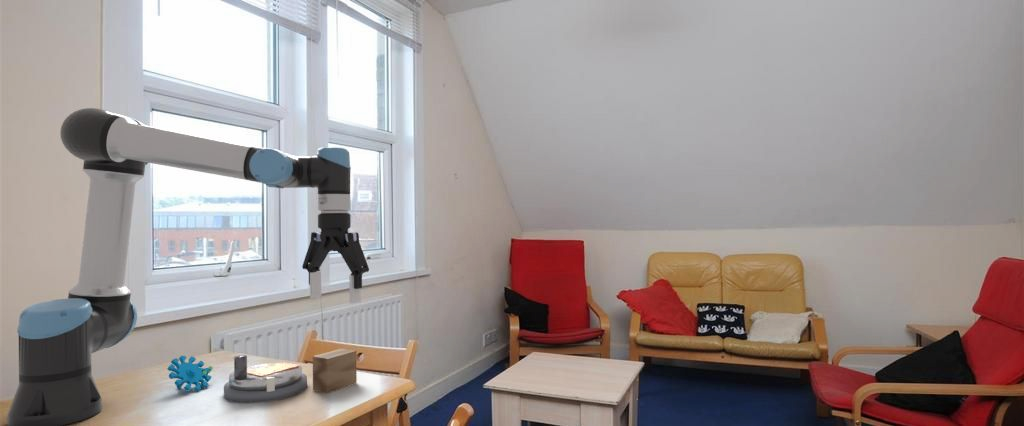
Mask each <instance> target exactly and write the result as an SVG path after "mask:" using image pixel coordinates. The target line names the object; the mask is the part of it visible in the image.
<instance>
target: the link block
mask: <svg viewBox="0 0 1024 426" xmlns="http://www.w3.org/2000/svg"><path fill="white" fill-rule="evenodd" d="M357 378H358V377H357V350H354V349H347V348H344V347H343V348H338V349H335V350H332V351H328V352H324V353H320V354H315V355H312V390H313V391H316V392H319V393H324V394H329V393H332V392H336V391H338V390H340V389H344V388H347V387H349V385H350V386H352V384H353V385H355V384H354V383H356V384H358V383H357V380H358V379H357Z"/></svg>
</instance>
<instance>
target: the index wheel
mask: <svg viewBox="0 0 1024 426" xmlns="http://www.w3.org/2000/svg"><path fill="white" fill-rule="evenodd" d="M233 368H234V369H233V371H232V372H231V373H230V374H229V375H228V382H229V386H230V387H231V388H233V389H237V390H247V391H254V390H267V378H269V377H275V388H279V387H284V386H287V385H290V384H293V383H295V382H297V381H299V380H300V379H301V378H302V373H303V367H302V366H301V365H299V364H297V363H291V362H284V361H282V362H270V363H259V364H255V365H249V366H248V356H247V355H246V354H242V355H241V354H240V355H239V354H238V355H234V357H233Z"/></svg>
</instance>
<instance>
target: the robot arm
mask: <svg viewBox="0 0 1024 426" xmlns="http://www.w3.org/2000/svg"><path fill="white" fill-rule="evenodd" d="M60 140H61V142H62V145H63V146H64V148H65V149H66V150H67V151H68V152H69V153H70V154H71V155H72V156H74V157H76V158H78V159H79V160H83V168H82V171H83V172H84V174H85V175H87V176H88V178H89V189H88V197H87V204H86V205H87V206H86V214H85V220H84V221H85V222H84V231H83V239H82V247H81V248H82V249H81V258H80V264H79V265H80V267H79V275H78V276H79V277H78V283H77V284H76V285H74V286H73V287H71V288H70V289H69V290H68V297H67V298H60V299H54V300H53V299H52V300H50V301H42V302H39V303H36V304H33V305H31V306H27V307H26V308H24V310H22V311H21V313H20V314H19V317H18V325H17V335H18V386H17V389H16V392H15V394H14V396H13V399H12V402H11V404H10V406H9V409H8V412H7V416H6V418H7V419H6V420H7V421H6V425H7V426H65V425H70V424H73V423H78V422H80V421H83V420H87V419H88V418H92V417H94V416H95V415H97V414H98V413H100V412H101V411H102V409H103V402H102V401H103V399H102V396H101V394H100V391H99V389H98V387H97V384H96V382H95V379H94V377H93V374H92V354H94V353H96V352H99V351H102V350H105V349H108V348H111V347H113V346H115V345H116V346H117V345H118V344H119V343H120V342H121V341H124V340H125V339H126V338H127V337H128V336H130V335H131V333H132V332H133V331H134V329H135V327H136V325H137V320H138V312H137V308H136V306H135V305H134V304H133V302H132V301H131V296H132V291H131V290H130V288H128V287H127V286H126V284H125V278H126V271H127V270H126V269H127V263H128V262H127V260H128V254H129V252H128V251H129V244H130V235H131V227H132V226H131V225H132V216H133V207H134V199H135V189H136V184H137V182H139V181H140V180H142V179H143V178H144V177H145V172H146V166H147V165H148V164H155V165H161V166H166V167H171V168H178V169H182V170H189V171H193V172H199V173H204V174H210V175H218V176H223V177H228V178H232V179H233V178H234V179H239V180H245V181H249V182H256V183H260V184H264V185H266V186H267V187H268V188H277V189H286V188H287V189H288V188H289V189H291V188H293V189H294V188H295V189H296V188H299V189H301V188H303V189H304V188H313V189H314V188H317V211H319V212H320V213H318V214H317V228H318V229H320V231H312V232H311V233H310V242H309V244H308V248H307V251H306V252H305V253H306V254H305V256H304V260H303V263H302V266H301V267H302V269H303V270H306V271H307V272H308V284H309V299H310V300H316V299H322V271H321V269H320V268H321V266H323V265H322V264H323V262H325V259H326V258H327V256H328V255H329V253H330V252H332V251H333V252H337V253H338V254H340V255H341V257H342V259H343V260H344V262H345V264H346V266H347V267H348V269H349V271H350V272H351V273H350V274H349V304H357V303H361V297H362V296H361V293H362V292H361V289H362V287H363V274H364V273H368V272H369V271H370V267H369V265H368V262H367V259H366V257H365V253H364V251H363V248H362V246H361V243H360V236H359V232H357V231H356V232H349V229H350V228H351V225H352V224H351V217H352V216H351V214H350V211H351V207H352V206H351V203H352V202H351V168H352V166H351V160H350V159H351V157H350V152H349V151H348V150H347V149H346V148H344V147H331V146H328V147H320V148H318V149H317V154H316V155H313V156H303V155H299V156H298V155H291V154H289V153H286V152H284V151H282V150H281V149H277V148H274V147H273V148H272V147H262V146H254V145H250V144H247V143H246V144H245V143H241V142H234V141H229V140H223V139H218V138H212V137H209V136H202V135H197V134H192V133H186V132H181V131H176V130H175V131H174V130H170V129H165V128H159V127H154V126H149V125H145V124H144V123H142V122H140V121H139V120H137V119H135V118H133V117H129V116H125V115H122V114H118V113H114V112H111V111H107V110H105V109H103V108H101V109H100V108H94V107H89V108H81V109H78V110H76V111H74V112H72V113H70V114H69V115H68V116H66V118H64V120H63V121H62V124H61V126H60Z"/></svg>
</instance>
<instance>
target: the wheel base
mask: <svg viewBox="0 0 1024 426" xmlns="http://www.w3.org/2000/svg"><path fill="white" fill-rule="evenodd" d="M307 386H308V377H307V375H306V374H305V373H303V372H302V378H301V379H300V380H299V381H297V382H295V383H293V384H290V385H287V386H284V387H279V388H275V377H269V378H267V390H254V391H247V390H237V389H233V388H231V387H230V386H229V381H227V382H225V384H224V385H223V397H224V399H226V400H227V401H231V402H236V403H246V404H247V403H248V404H249V403H263V402H264V403H266V402H271V401H279V400H282V399H286V398H290V397H293V396H296V395H297V394H300V393H302V392H303V391H305V390H306V389H307Z"/></svg>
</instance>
